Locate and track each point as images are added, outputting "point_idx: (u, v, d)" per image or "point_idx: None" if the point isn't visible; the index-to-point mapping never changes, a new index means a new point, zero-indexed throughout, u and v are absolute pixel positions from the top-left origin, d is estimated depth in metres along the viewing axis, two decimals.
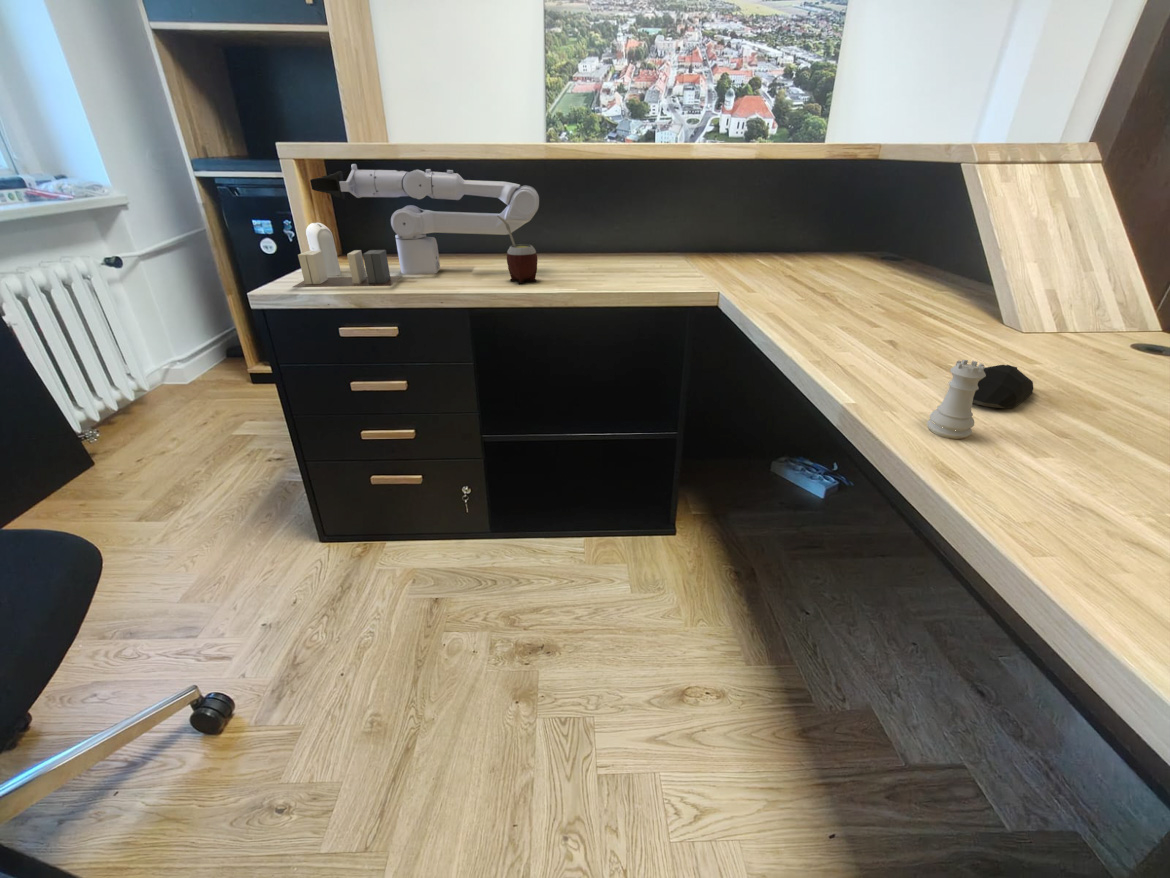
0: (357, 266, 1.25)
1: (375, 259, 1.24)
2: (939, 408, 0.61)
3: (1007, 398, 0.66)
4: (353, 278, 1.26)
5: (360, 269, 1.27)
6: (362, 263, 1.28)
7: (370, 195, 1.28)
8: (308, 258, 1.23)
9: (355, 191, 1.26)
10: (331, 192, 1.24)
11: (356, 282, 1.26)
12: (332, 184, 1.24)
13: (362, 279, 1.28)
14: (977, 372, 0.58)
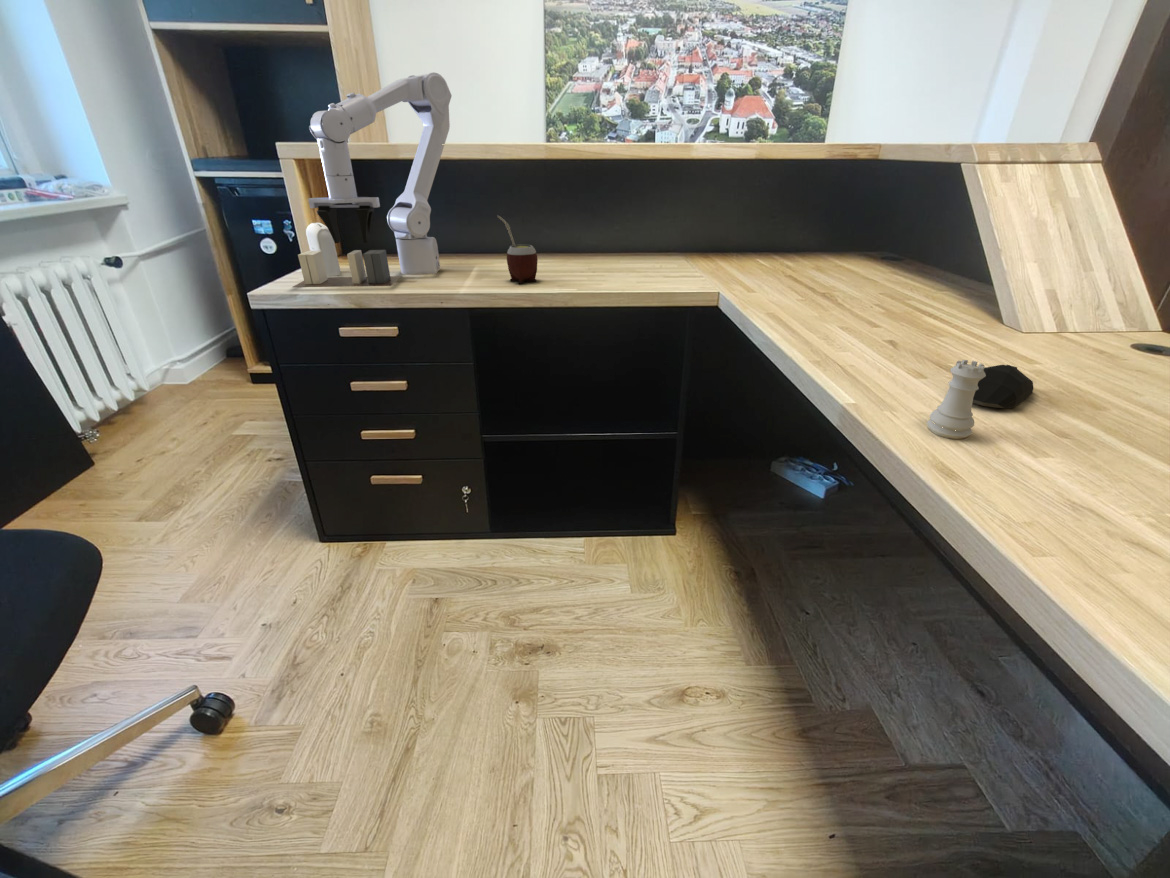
0: (357, 266, 1.25)
1: (375, 259, 1.24)
2: (939, 408, 0.61)
3: (1007, 398, 0.66)
4: (353, 278, 1.26)
5: (360, 269, 1.27)
6: (362, 263, 1.28)
7: None
8: (308, 258, 1.23)
9: (358, 198, 1.22)
10: None
11: (356, 282, 1.26)
12: None
13: (362, 279, 1.28)
14: (977, 372, 0.58)
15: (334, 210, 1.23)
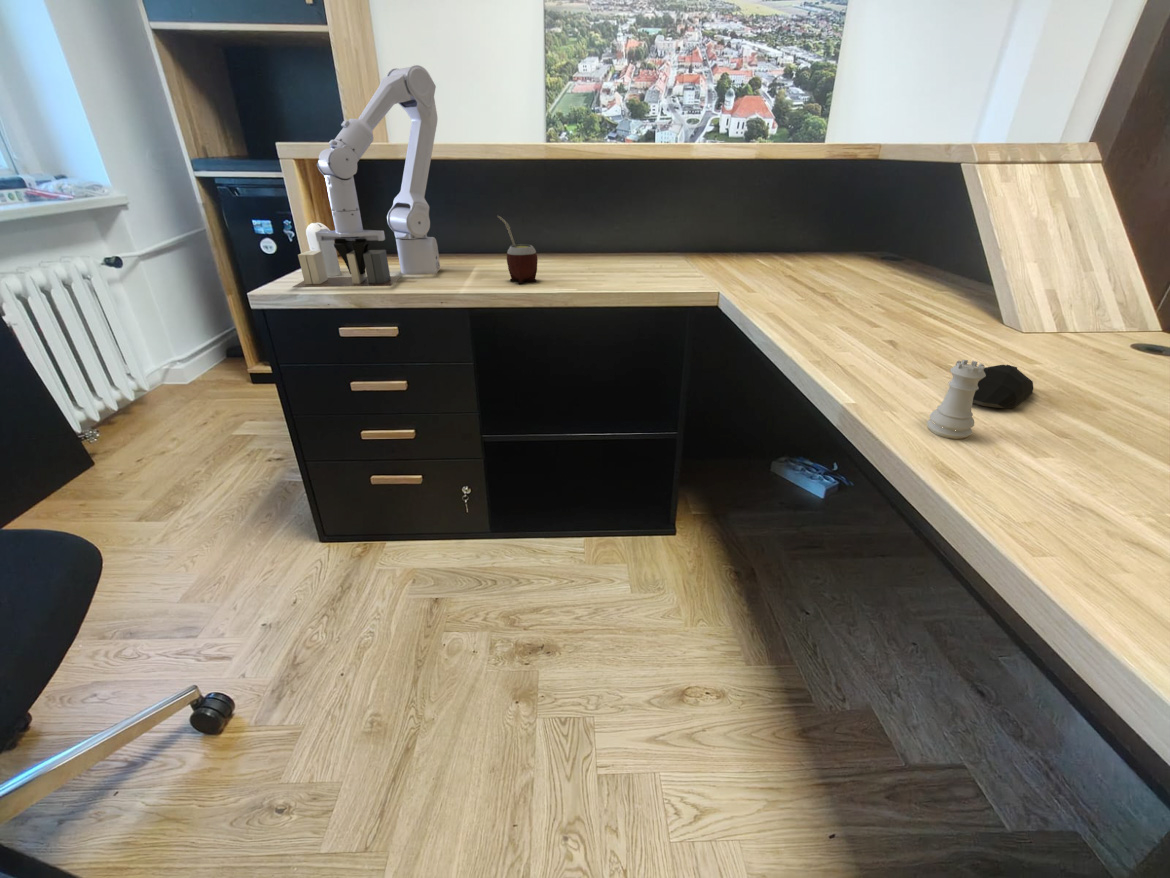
0: (356, 266, 1.25)
1: (375, 259, 1.24)
2: (939, 408, 0.61)
3: (1007, 398, 0.66)
4: (353, 278, 1.26)
5: None
6: None
7: None
8: (308, 258, 1.23)
9: (364, 231, 1.25)
10: None
11: (356, 282, 1.26)
12: None
13: (362, 279, 1.28)
14: (977, 372, 0.58)
15: (350, 242, 1.26)
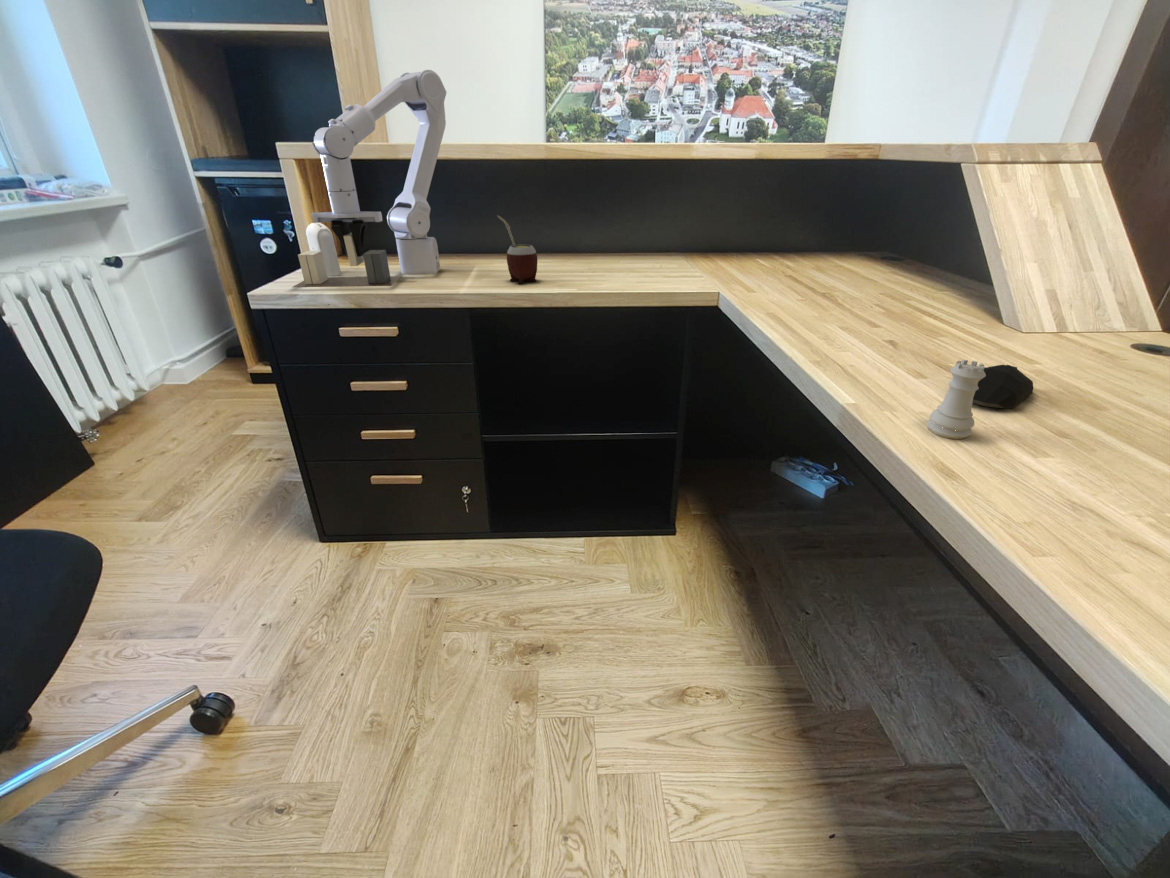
0: (353, 248, 1.23)
1: (375, 259, 1.24)
2: (939, 408, 0.61)
3: (1007, 398, 0.66)
4: (350, 260, 1.24)
5: None
6: None
7: None
8: (308, 258, 1.23)
9: (361, 212, 1.23)
10: (364, 234, 1.25)
11: (353, 264, 1.25)
12: None
13: (359, 262, 1.26)
14: (977, 372, 0.58)
15: (347, 224, 1.24)
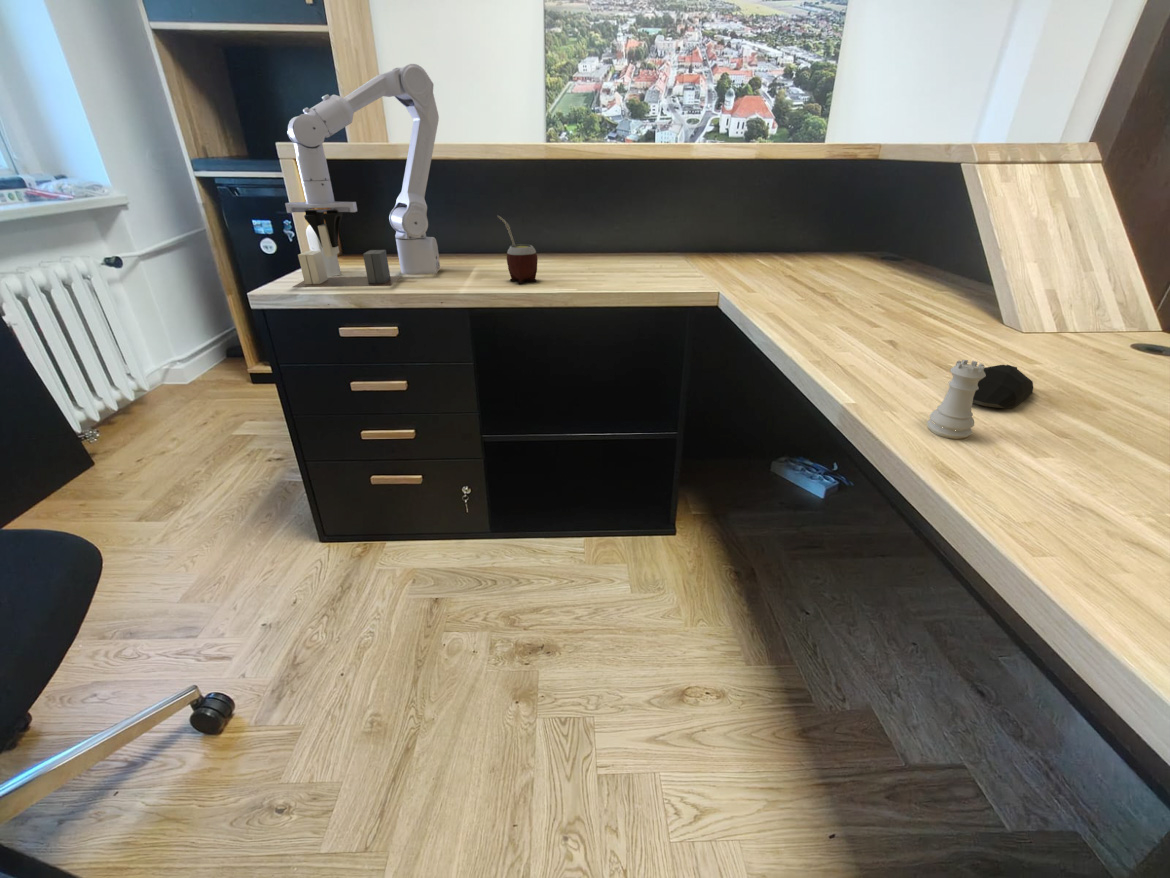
0: (328, 239, 1.22)
1: (375, 259, 1.24)
2: (939, 408, 0.61)
3: (1007, 398, 0.66)
4: (325, 251, 1.23)
5: None
6: None
7: None
8: (308, 258, 1.23)
9: None
10: (339, 224, 1.24)
11: (328, 255, 1.23)
12: None
13: (334, 252, 1.25)
14: (977, 372, 0.58)
15: (321, 214, 1.23)
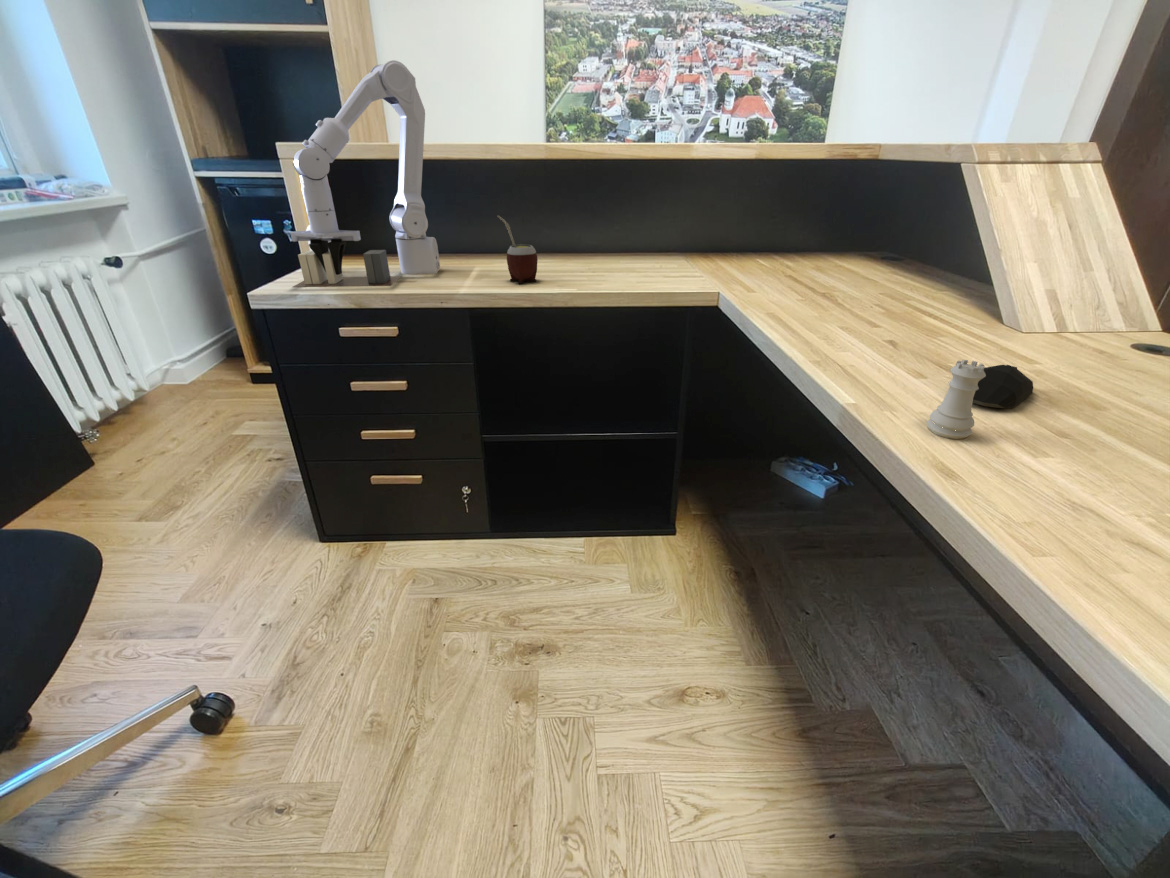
0: (332, 267, 1.25)
1: (375, 259, 1.24)
2: (939, 408, 0.61)
3: (1007, 398, 0.66)
4: (329, 278, 1.26)
5: None
6: None
7: None
8: (308, 258, 1.23)
9: (339, 231, 1.25)
10: (343, 252, 1.27)
11: (332, 282, 1.26)
12: None
13: (338, 279, 1.28)
14: (977, 372, 0.58)
15: (326, 242, 1.26)
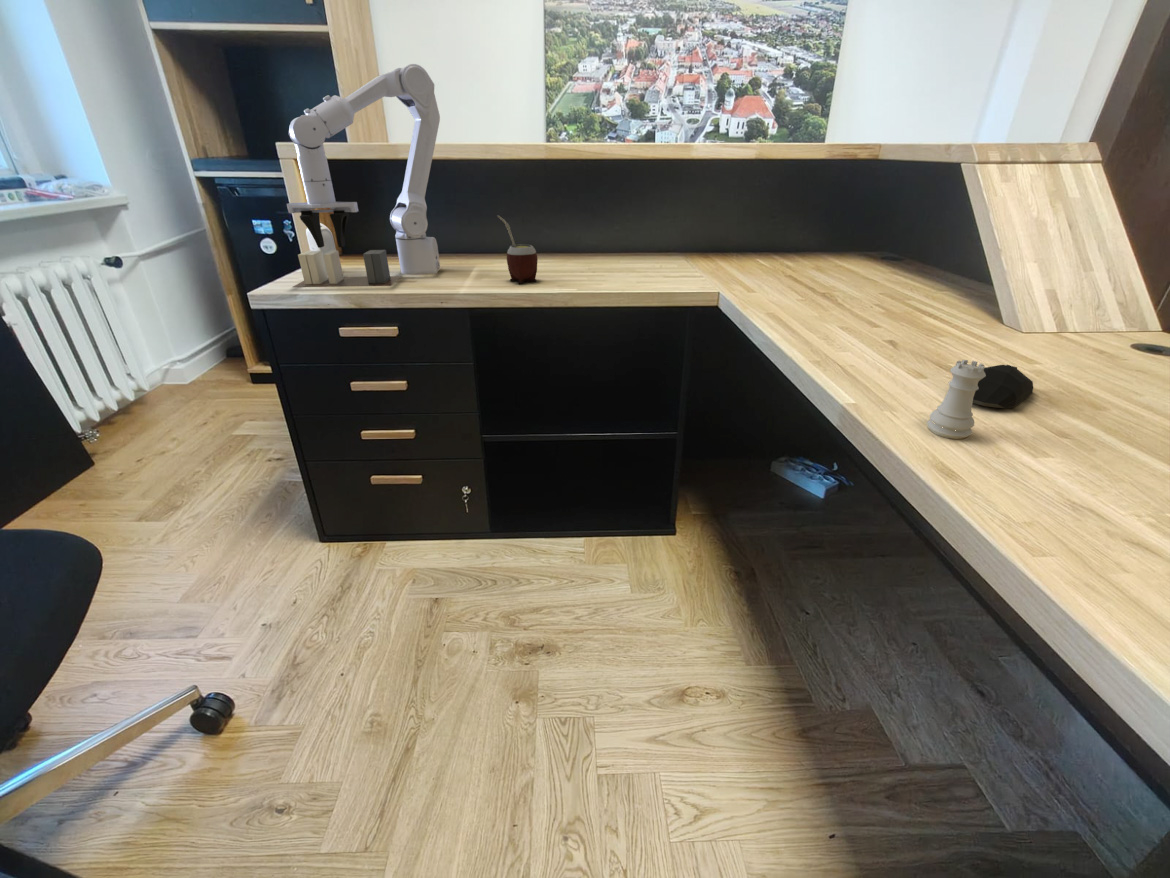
0: (333, 267, 1.25)
1: (375, 259, 1.24)
2: (939, 408, 0.61)
3: (1007, 398, 0.66)
4: (330, 278, 1.26)
5: (337, 269, 1.27)
6: (339, 263, 1.28)
7: None
8: (308, 258, 1.23)
9: (336, 202, 1.23)
10: (345, 224, 1.25)
11: (333, 282, 1.26)
12: None
13: (339, 279, 1.28)
14: (977, 372, 0.58)
15: (317, 215, 1.24)
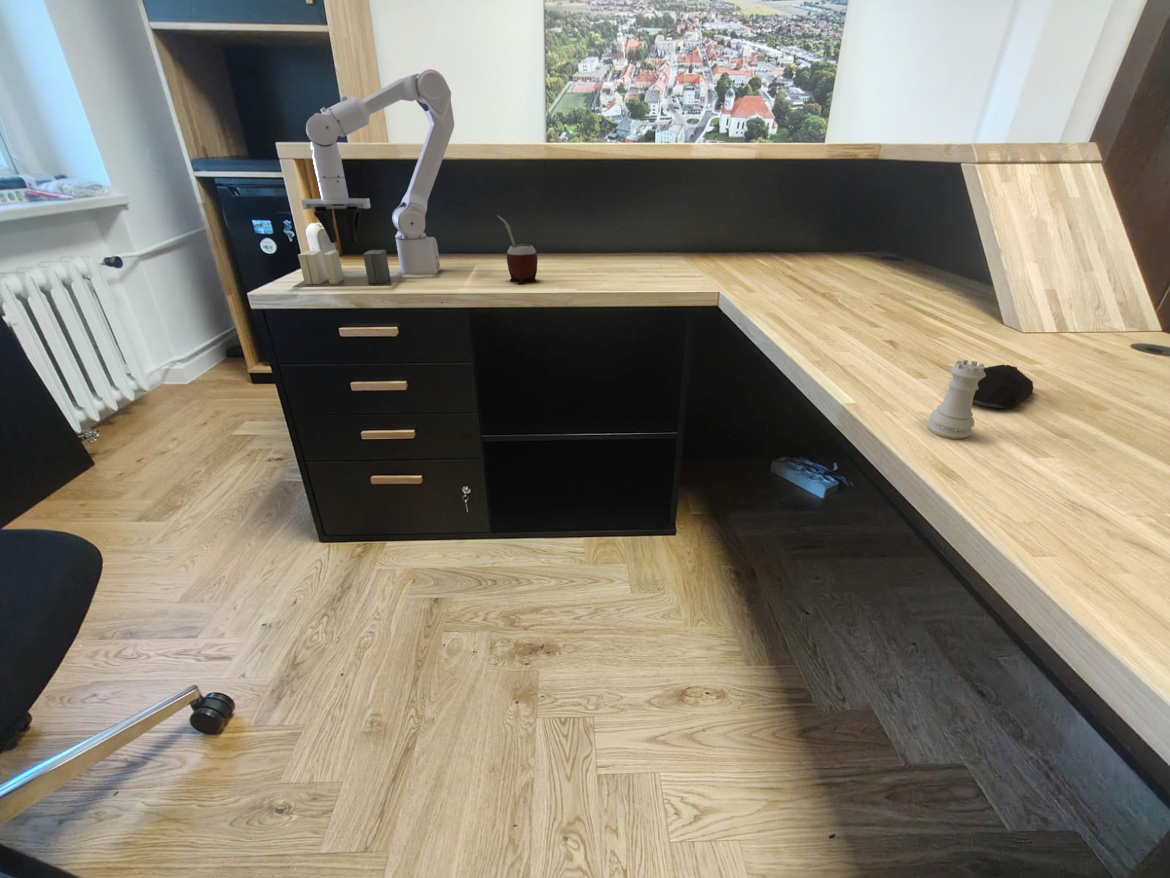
0: (333, 267, 1.25)
1: (375, 259, 1.24)
2: (939, 408, 0.61)
3: (1007, 398, 0.66)
4: (330, 278, 1.26)
5: (337, 269, 1.27)
6: (339, 263, 1.28)
7: None
8: (308, 258, 1.23)
9: (349, 199, 1.26)
10: (358, 220, 1.28)
11: (333, 282, 1.26)
12: None
13: (339, 279, 1.28)
14: (977, 372, 0.58)
15: (330, 211, 1.27)
